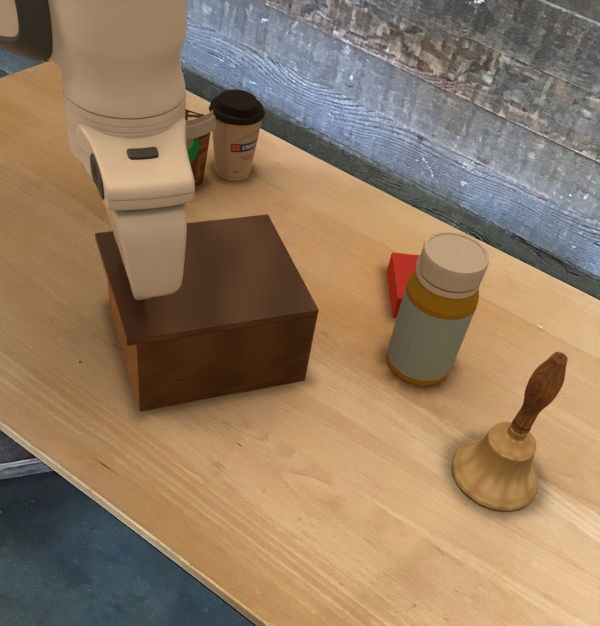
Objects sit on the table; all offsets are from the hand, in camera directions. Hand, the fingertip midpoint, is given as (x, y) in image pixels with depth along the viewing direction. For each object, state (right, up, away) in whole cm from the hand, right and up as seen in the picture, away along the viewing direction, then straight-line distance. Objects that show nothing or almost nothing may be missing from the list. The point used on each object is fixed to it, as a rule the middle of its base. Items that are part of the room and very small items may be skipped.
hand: (133, 267), depth 68 cm
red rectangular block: (+29, 0, +20) cm, 35 cm away
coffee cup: (+6, +18, +32) cm, 37 cm away
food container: (-3, +16, +28) cm, 33 cm away
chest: (+5, -6, +11) cm, 13 cm away
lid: (+6, 0, +4) cm, 7 cm away
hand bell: (+33, -19, +4) cm, 39 cm away
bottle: (+27, -8, +13) cm, 31 cm away
